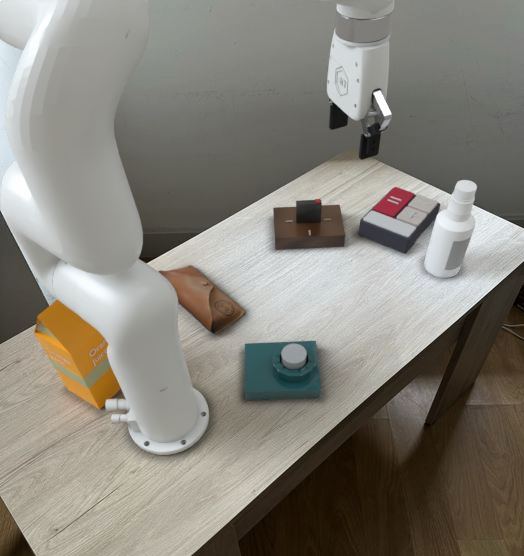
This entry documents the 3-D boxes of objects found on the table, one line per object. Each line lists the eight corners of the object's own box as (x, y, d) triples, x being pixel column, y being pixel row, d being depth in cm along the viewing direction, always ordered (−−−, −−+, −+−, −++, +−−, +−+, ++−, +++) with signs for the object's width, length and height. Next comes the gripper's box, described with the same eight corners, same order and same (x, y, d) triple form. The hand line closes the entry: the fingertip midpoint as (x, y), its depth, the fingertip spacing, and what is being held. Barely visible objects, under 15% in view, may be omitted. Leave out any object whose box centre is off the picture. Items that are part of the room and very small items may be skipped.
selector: (275, 249, 105) (274, 237, 103) (273, 219, 112) (273, 206, 109) (344, 246, 105) (345, 234, 103) (338, 216, 111) (339, 203, 109)
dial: (296, 223, 106) (296, 203, 102) (295, 219, 106) (296, 199, 103) (320, 222, 105) (321, 202, 102) (320, 217, 106) (321, 198, 103)
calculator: (442, 200, 107) (410, 236, 99) (437, 218, 110) (405, 254, 103) (394, 183, 112) (359, 217, 104) (390, 201, 115) (357, 234, 107)
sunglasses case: (248, 310, 94) (231, 298, 89) (225, 341, 95) (206, 330, 89) (189, 263, 103) (170, 248, 97) (168, 291, 104) (147, 278, 98)
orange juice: (66, 389, 86) (16, 306, 70) (104, 353, 90) (65, 267, 75) (100, 410, 83) (56, 328, 67) (137, 372, 87) (104, 287, 72)
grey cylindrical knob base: (245, 400, 83) (244, 386, 80) (245, 351, 89) (244, 336, 86) (320, 397, 83) (321, 383, 80) (315, 348, 89) (316, 333, 86)
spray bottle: (460, 280, 98) (489, 199, 84) (423, 276, 99) (445, 196, 85) (459, 256, 102) (486, 175, 88) (423, 252, 103) (444, 172, 89)
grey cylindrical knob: (282, 370, 82) (281, 363, 81) (281, 350, 85) (280, 343, 83) (307, 369, 82) (307, 362, 81) (305, 349, 84) (305, 342, 83)
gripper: (309, 8, 74) (307, 122, 88) (372, 54, 64) (359, 176, 78) (356, -3, 76) (347, 111, 89) (424, 41, 66) (402, 162, 79)
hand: (352, 141), depth 83 cm, fingers open, 9 cm apart
